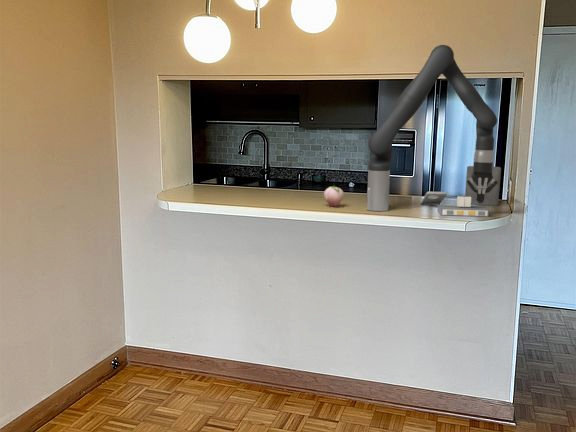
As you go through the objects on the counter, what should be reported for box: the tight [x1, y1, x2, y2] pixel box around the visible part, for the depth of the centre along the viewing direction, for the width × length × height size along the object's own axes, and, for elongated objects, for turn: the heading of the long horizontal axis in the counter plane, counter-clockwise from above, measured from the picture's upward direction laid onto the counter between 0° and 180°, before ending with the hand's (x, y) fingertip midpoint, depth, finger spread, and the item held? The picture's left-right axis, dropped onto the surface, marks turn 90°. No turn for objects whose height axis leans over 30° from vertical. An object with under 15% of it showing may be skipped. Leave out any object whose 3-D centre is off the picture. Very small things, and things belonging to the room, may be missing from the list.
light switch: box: [420, 191, 448, 206], centre depth 255 cm, size 8×6×14 cm
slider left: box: [456, 195, 465, 207], centre depth 237 cm, size 2×4×4 cm
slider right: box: [463, 195, 472, 207], centre depth 237 cm, size 2×4×4 cm
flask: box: [464, 165, 502, 207], centre depth 263 cm, size 15×6×20 cm, turn 77°
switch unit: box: [437, 204, 490, 218], centre depth 237 cm, size 19×10×3 cm, turn 84°
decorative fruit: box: [323, 185, 345, 208], centre depth 252 cm, size 9×8×10 cm
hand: (480, 202), depth 236 cm, fingers closed
